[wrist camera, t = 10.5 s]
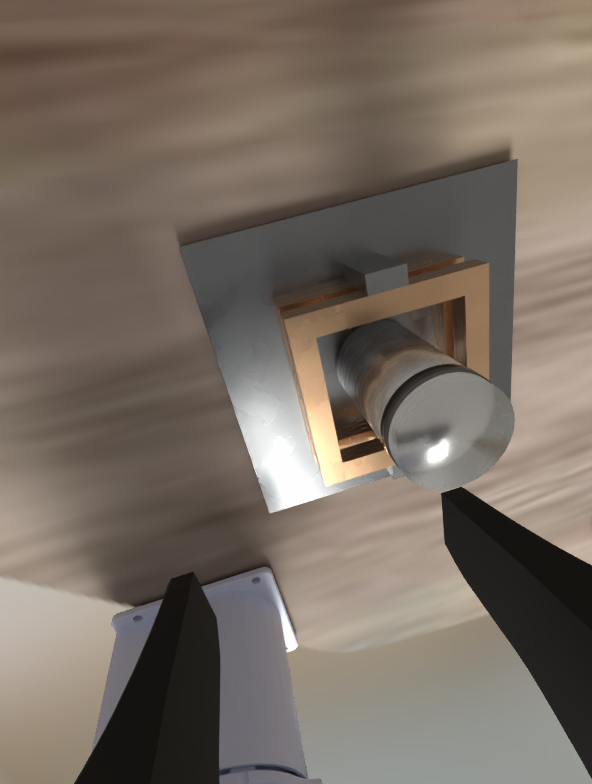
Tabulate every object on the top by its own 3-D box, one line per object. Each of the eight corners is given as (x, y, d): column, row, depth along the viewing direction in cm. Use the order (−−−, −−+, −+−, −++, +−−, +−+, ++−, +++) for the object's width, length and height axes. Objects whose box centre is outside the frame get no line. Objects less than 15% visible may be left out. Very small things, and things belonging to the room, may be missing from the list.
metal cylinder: (344, 411, 20) (404, 506, 14) (326, 334, 18) (386, 403, 12) (422, 386, 20) (516, 468, 14) (412, 307, 18) (515, 362, 12)
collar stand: (268, 507, 22) (277, 552, 20) (179, 245, 16) (173, 256, 13) (503, 434, 23) (544, 467, 21) (509, 160, 17) (569, 153, 14)
